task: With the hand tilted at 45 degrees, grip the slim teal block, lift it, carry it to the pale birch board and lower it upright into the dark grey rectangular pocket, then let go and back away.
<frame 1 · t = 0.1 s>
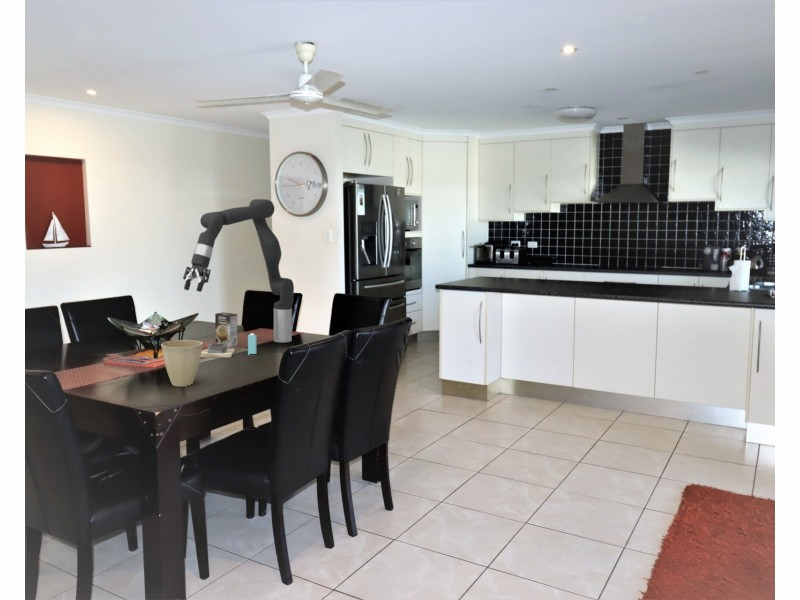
hand: (192, 290, 274), 31 cm above the table, tool tilted 20°, fingers open, 8 cm apart
teal block: (252, 354, 293), on the table
coffee box: (226, 345, 311), on the table
plant pot: (182, 384, 238), on the table
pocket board: (217, 353, 291), on the table
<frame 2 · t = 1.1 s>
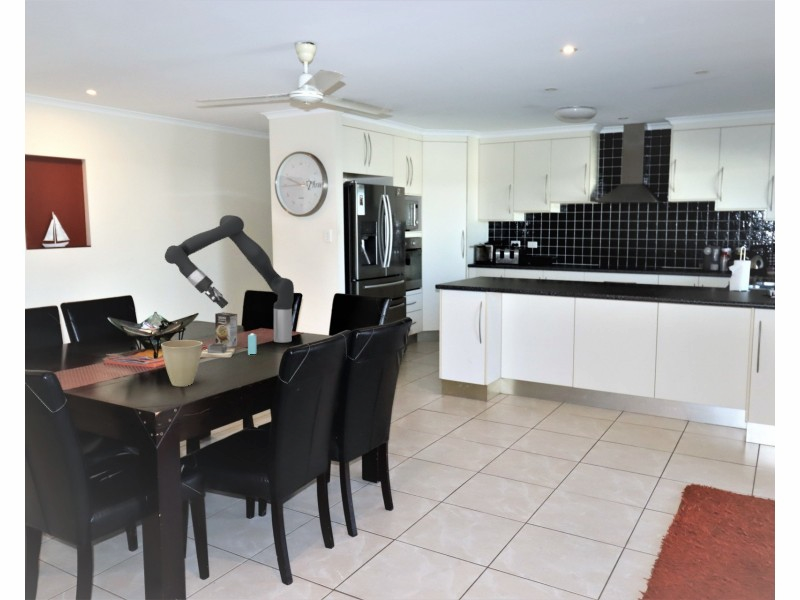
hand: (225, 305, 288), 23 cm above the table, tool tilted 45°, fingers open, 8 cm apart
nothing on the table moved.
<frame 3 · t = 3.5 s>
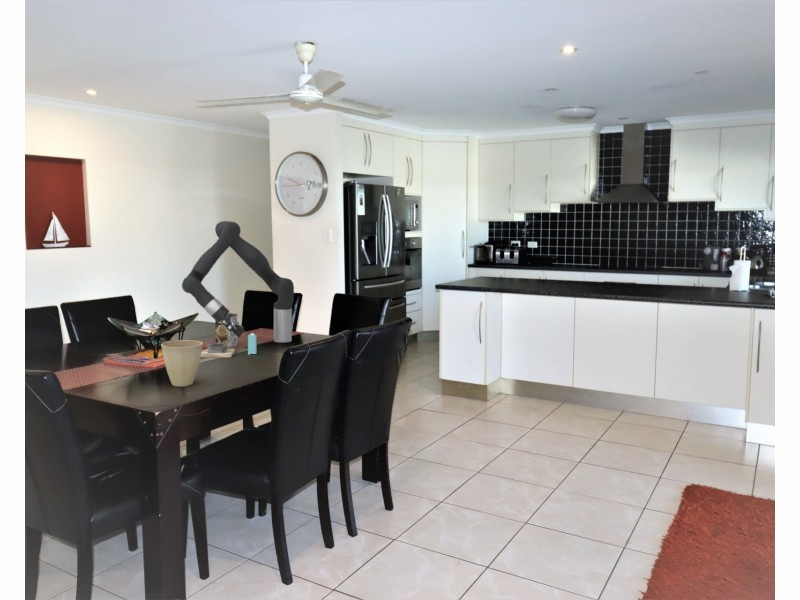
hand: (241, 334, 291), 9 cm above the table, tool tilted 45°, fingers open, 8 cm apart
nothing on the table moved.
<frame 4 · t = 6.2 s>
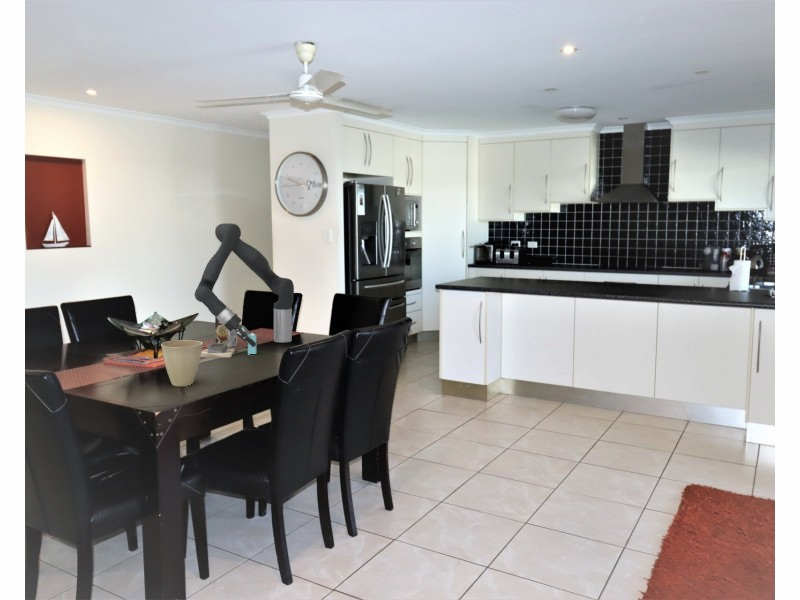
hand: (255, 344, 292), 5 cm above the table, tool tilted 45°, fingers closed on teal block, 4 cm apart
teal block: (252, 354, 293), on the table, touching gripper
everything else where it was.
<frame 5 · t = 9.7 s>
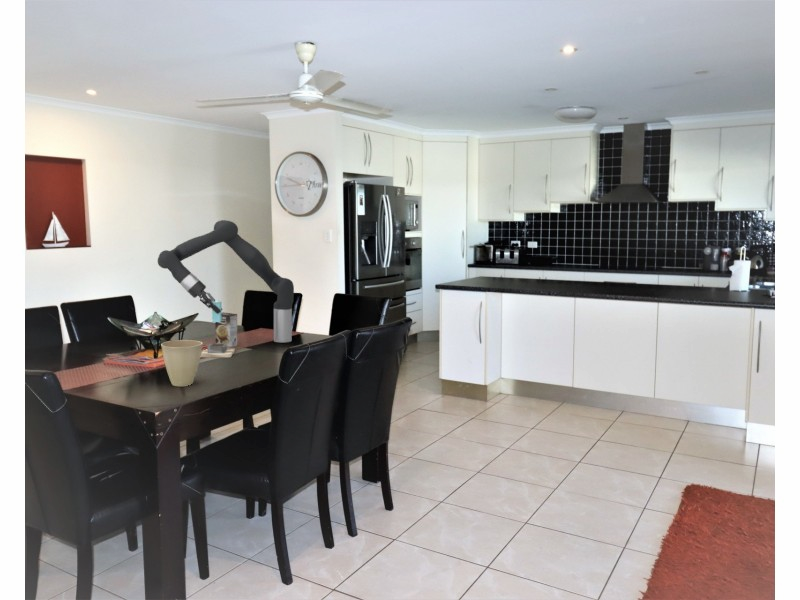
hand: (220, 311, 288), 20 cm above the table, tool tilted 45°, fingers closed on teal block, 4 cm apart
teal block: (216, 321, 289), point 16 cm above the table, touching gripper
everything else where it was.
when the fingers open (7 cm above the table, at t = 13.6 s): teal block stays where it is, resting on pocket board.
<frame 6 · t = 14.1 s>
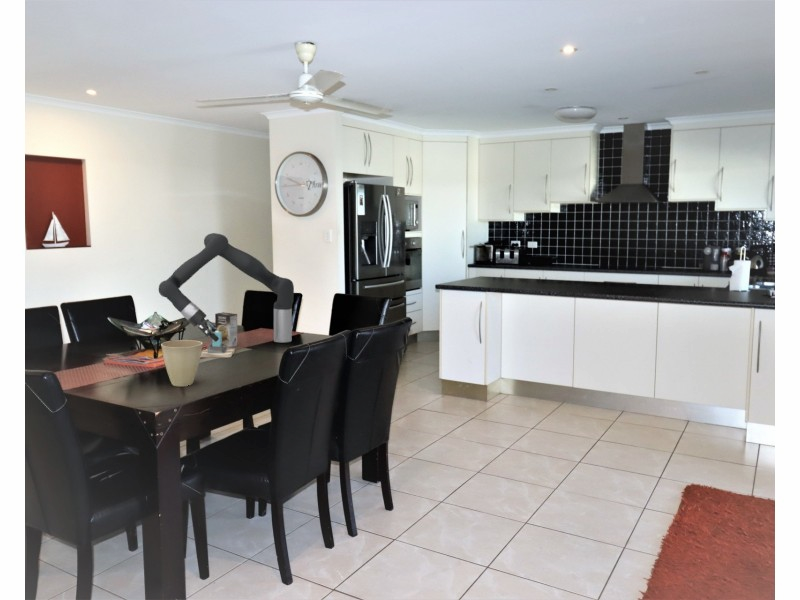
hand: (219, 338, 290), 7 cm above the table, tool tilted 45°, fingers open, 8 cm apart
teal block: (217, 351, 291), point 1 cm above the table, touching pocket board
everything else where it was.
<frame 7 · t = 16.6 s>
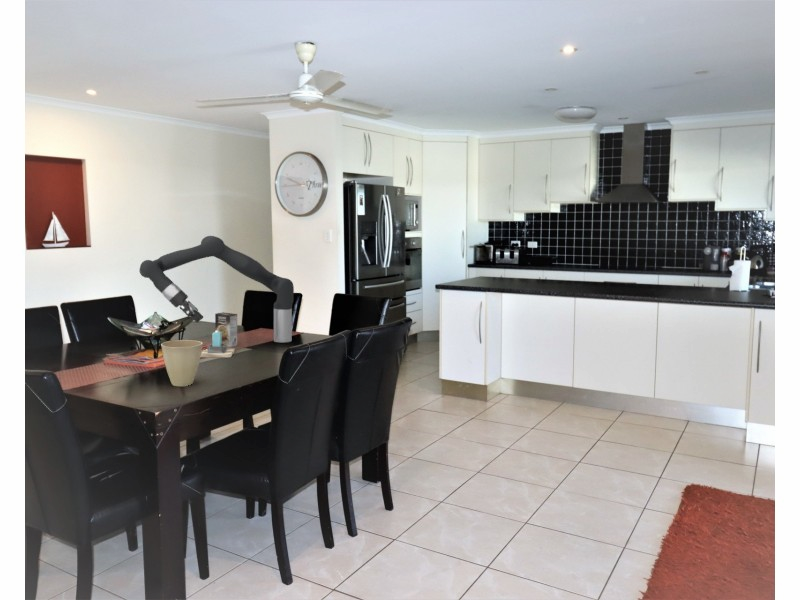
hand: (200, 320, 288), 16 cm above the table, tool tilted 45°, fingers open, 8 cm apart
nothing on the table moved.
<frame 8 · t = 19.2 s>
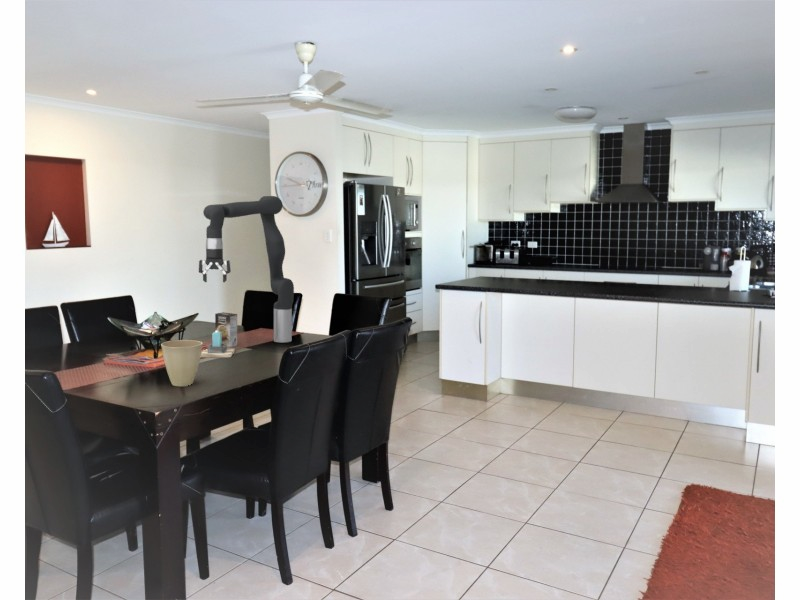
hand: (214, 282, 293), 33 cm above the table, tool pointing down, fingers open, 8 cm apart
nothing on the table moved.
at the end: teal block 0.1 cm off-centre on the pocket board, point 1.2 cm above the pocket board's base; teal block tilted 0°; the gripper is holding nothing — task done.
